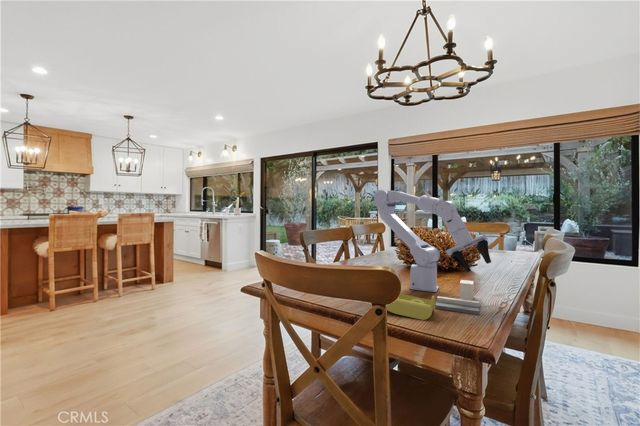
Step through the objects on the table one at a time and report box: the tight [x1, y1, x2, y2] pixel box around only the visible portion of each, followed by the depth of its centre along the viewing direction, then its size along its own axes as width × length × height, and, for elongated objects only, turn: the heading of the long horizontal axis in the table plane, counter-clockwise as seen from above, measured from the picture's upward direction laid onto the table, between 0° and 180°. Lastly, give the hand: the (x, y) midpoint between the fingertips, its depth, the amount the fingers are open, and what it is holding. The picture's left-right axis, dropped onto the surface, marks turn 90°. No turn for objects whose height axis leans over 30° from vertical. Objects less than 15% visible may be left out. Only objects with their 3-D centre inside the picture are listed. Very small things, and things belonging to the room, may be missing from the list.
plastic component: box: [386, 293, 436, 321], centre depth 94 cm, size 20×7×10 cm
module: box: [459, 279, 475, 301], centre depth 106 cm, size 4×5×6 cm
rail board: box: [434, 295, 480, 316], centre depth 97 cm, size 12×10×2 cm
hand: (479, 267), depth 105 cm, fingers open, 7 cm apart
